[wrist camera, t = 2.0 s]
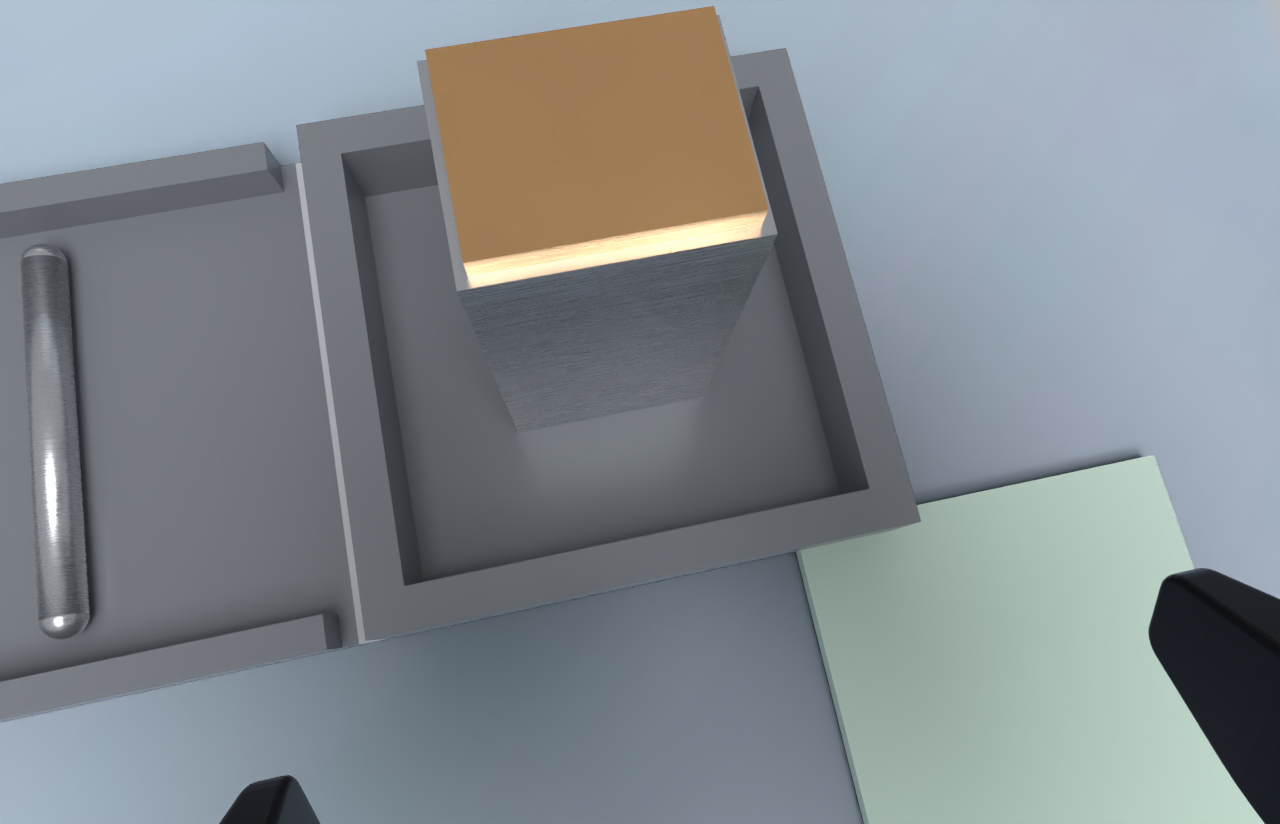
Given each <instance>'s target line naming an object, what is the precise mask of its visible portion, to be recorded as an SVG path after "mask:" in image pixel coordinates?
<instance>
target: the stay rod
mask: <svg viewBox="0 0 1280 824" xmlns="http://www.w3.org/2000/svg"><path fill="white" fill-rule="evenodd" d="M20 269H21V289H22V309H23V329H24V349H25V369H26V389H27V409H28V429H29V449H30V469H31V489H32V509H33V529H34V549H35V569H36V589H37V609H38V623H39V627H40V629H41V631H42V632H43V633H44V634H45V635H46V636H48V637H50V638H53V639H58V640H63V639H69V638H72V637H74V636H76V635H78V634H79V633H81V632H82V631H83V630H84V629H85V627H86V626H87V624H88V622H89V618H90V607H89V591H88V575H87V559H86V544H85V528H84V512H83V497H82V481H81V465H80V449H79V434H78V418H77V402H76V386H75V371H74V355H73V339H72V324H71V308H70V292H69V276H68V263H67V259H66V257H65V255H64V254H63V253H62V252H61V251H60V250H59V249H57V248H56V247H54V246H51V245H47V244H36V245H33V246H30V247H28V248H27V249H26V250H25V251H24V252H23V253H22V256H21V259H20Z"/></svg>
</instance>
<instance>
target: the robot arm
mask: <svg viewBox="0 0 1280 824" xmlns="http://www.w3.org/2000/svg"><path fill="white" fill-rule="evenodd" d="M1148 634H1149V640H1150V644H1151V647H1152V649H1153V651H1154V653H1155V655H1156V657H1157V658H1158V660H1159V662H1160V663H1161V665H1162V667H1163V668H1164V670H1165V671H1166V673H1167V675H1168V676H1169V678H1170V680H1171V681H1172V683H1173V684H1174V686H1175V688H1176V689H1177V691H1178V693H1179V694H1180V696H1181V697H1182V699H1183V701H1184V702H1185V704H1186V706H1187V707H1188V709H1189V710H1190V712H1191V714H1192V715H1193V717H1194V719H1195V720H1196V722H1197V723H1198V725H1199V727H1200V728H1201V730H1202V732H1203V733H1204V735H1205V736H1206V738H1207V740H1208V741H1209V743H1210V745H1211V746H1212V748H1213V749H1214V751H1215V753H1216V754H1217V756H1218V758H1219V759H1220V761H1221V762H1222V764H1223V765H1224V767H1225V768H1226V770H1227V772H1228V773H1229V775H1230V776H1231V778H1232V779H1233V781H1234V782H1235V784H1236V785H1237V787H1238V788H1239V789H1240V791H1241V792H1242V794H1243V795H1244V796H1245V798H1246V799H1247V801H1248V802H1249V803H1250V805H1251V806H1252V808H1253V809H1254V810H1255V812H1256V813H1257V814H1258V816H1259V817H1260V818H1261V820H1262V821H1263V822H1264V824H1280V599H1278V598H1276V597H1274V596H1272V595H1269V594H1267V593H1265V592H1262V591H1260V590H1258V589H1256V588H1253V587H1251V586H1249V585H1246V584H1244V583H1242V582H1239V581H1237V580H1235V579H1233V578H1230V577H1228V576H1226V575H1223V574H1221V573H1219V572H1216V571H1214V570H1211V569H1206V568H1198V569H1192V570H1188V571H1183V572H1179V573H1175V574H1171V575H1169V576H1167V577H1166V578H1165V579H1164V580H1163V581H1162V583H1161V586H1160V589H1159V593H1158V596H1157V600H1156V603H1155V607H1154V610H1153V614H1152V617H1151V621H1150V624H1149V629H1148ZM219 824H320V822H319V820H318V818H317V816H316V814H315V812H314V810H313V809H312V807H311V805H310V803H309V801H308V799H307V797H306V795H305V794H304V792H303V790H302V788H301V786H300V784H299V783H298V781H297V780H296V779H295V778H294V777H292V776H290V775H285V776H280V777H276V778H271V779H267V780H263V781H258V782H255V783H252V784H250V785H249V786H247V787H246V788H245V789H244V790H243V791H242V792H241V793H240V795H239V796H238V798H237V799H236V800H235V802H234V803H233V805H232V806H231V808H230V809H229V811H228V812H227V813H226V815H225V816H224V818H223V819H222V821H221V822H220V823H219Z"/></svg>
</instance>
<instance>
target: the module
mask: <svg viewBox="0 0 1280 824" xmlns="http://www.w3.org/2000/svg"><path fill="white" fill-rule="evenodd" d="M425 52H426V58H427V60H422V61H417V65H418V70H419V76H420V82H421V88H422V93H423V99H424V105H425V111H426V117H427V122H428V128H429V134H430V140H431V145H432V151H433V157H434V163H435V169H436V174H437V180H438V186H439V192H440V197H441V203H442V209H443V215H444V220H445V226H446V232H447V238H448V244H449V249H450V255H451V261H452V267H453V272H454V278H455V284H456V290H457V293H458V295H459V297H460V300H461V302H462V304H463V307H464V309H465V311H466V314H467V316H468V318H469V321H470V323H471V325H472V327H473V330H474V332H475V334H476V337H477V339H478V341H479V344H480V346H481V348H482V350H483V353H484V355H485V357H486V360H487V362H488V364H489V367H490V369H491V371H492V374H493V376H494V378H495V380H496V383H497V385H498V387H499V390H500V392H501V394H502V397H503V399H504V401H505V403H506V406H507V408H508V410H509V413H510V415H511V417H512V420H513V422H514V424H515V427H516V429H517V431H518V433H521V432H527V431H532V430H537V429H542V428H547V427H552V426H557V425H562V424H568V423H573V422H578V421H583V420H588V419H593V418H598V417H603V416H609V415H614V414H619V413H624V412H629V411H634V410H639V409H644V408H649V407H655V406H660V405H665V404H670V403H675V402H680V401H685V400H690V399H696V398H701V397H703V395H704V393H705V391H706V388H707V386H708V384H709V382H710V380H711V378H712V375H713V373H714V371H715V369H716V367H717V365H718V362H719V360H720V358H721V356H722V354H723V351H724V349H725V347H726V345H727V343H728V341H729V338H730V336H731V334H732V332H733V330H734V328H735V325H736V323H737V321H738V319H739V317H740V315H741V312H742V310H743V308H744V306H745V304H746V302H747V299H748V297H749V295H750V293H751V291H752V289H753V286H754V284H755V282H756V280H757V278H758V276H759V273H760V271H761V269H762V267H763V265H764V263H765V260H766V258H767V256H768V254H769V252H770V250H771V247H772V245H773V243H774V241H775V239H776V237H777V234H778V233H777V229H776V225H775V222H774V218H773V214H772V211H771V207H770V203H769V199H768V196H767V192H766V188H765V184H764V181H763V177H762V173H761V170H760V166H759V162H758V158H757V155H756V151H755V147H754V144H753V140H752V136H751V132H750V129H749V125H748V121H747V117H746V114H745V110H744V106H743V103H742V99H741V95H740V91H739V88H738V84H737V80H736V76H735V73H734V69H733V65H732V62H731V58H730V54H729V50H728V47H727V43H726V39H725V35H724V32H723V28H722V24H721V21H720V17H719V15H716V12H715V8H714V6H711V7H705V8H698V9H692V10H685V11H678V12H672V13H665V14H659V15H652V16H645V17H639V18H632V19H626V20H619V21H612V22H606V23H599V24H593V25H586V26H579V27H573V28H566V29H560V30H553V31H546V32H540V33H533V34H527V35H520V36H513V37H507V38H500V39H494V40H487V41H480V42H474V43H467V44H461V45H454V46H447V47H441V48H434V49H428V50H425Z"/></svg>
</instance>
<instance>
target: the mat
mask: <svg viewBox="0 0 1280 824" xmlns="http://www.w3.org/2000/svg"><path fill="white" fill-rule="evenodd" d="M917 508H918V511H919V515H920V518H921V522H918V523H915V524H912V525H909V526H905V527H902V528H899V529H895V530H892V531H887V532H882V533H878V534H873V535H869V536H864V537H859V538H855V539H850V540H845V541H841V542H836V543H831V544H827V545H822V546H817V547H813V548H808V549H803V550H799V551H796V555H797V559H798V563H799V566H800V570H801V574H802V578H803V582H804V586H805V590H806V594H807V598H808V602H809V606H810V610H811V614H812V618H813V622H814V626H815V630H816V634H817V638H818V642H819V646H820V650H821V654H822V658H823V662H824V666H825V670H826V674H827V678H828V682H829V686H830V690H831V694H832V698H833V702H834V706H835V710H836V714H837V718H838V722H839V726H840V730H841V734H842V738H843V742H844V746H845V750H846V754H847V758H848V762H849V766H850V770H851V774H852V778H853V782H854V786H855V790H856V794H857V798H858V802H859V806H860V810H861V814H862V818H863V822H864V824H1264V822H1263V821H1262V820H1261V818H1260V817H1259V816H1258V814H1257V813H1256V812H1255V810H1254V809H1253V808H1252V806H1251V805H1250V803H1249V802H1248V801H1247V799H1246V798H1245V796H1244V795H1243V794H1242V792H1241V791H1240V789H1239V788H1238V787H1237V785H1236V784H1235V782H1234V781H1233V779H1232V778H1231V776H1230V775H1229V773H1228V772H1227V770H1226V768H1225V767H1224V765H1223V764H1222V762H1221V761H1220V759H1219V758H1218V756H1217V754H1216V753H1215V751H1214V749H1213V748H1212V746H1211V745H1210V743H1209V741H1208V740H1207V738H1206V736H1205V735H1204V733H1203V732H1202V730H1201V728H1200V727H1199V725H1198V723H1197V722H1196V720H1195V719H1194V717H1193V715H1192V714H1191V712H1190V710H1189V709H1188V707H1187V706H1186V704H1185V702H1184V701H1183V699H1182V697H1181V696H1180V694H1179V693H1178V691H1177V689H1176V688H1175V686H1174V684H1173V683H1172V681H1171V680H1170V678H1169V676H1168V675H1167V673H1166V671H1165V670H1164V668H1163V667H1162V665H1161V663H1160V662H1159V660H1158V658H1157V657H1156V655H1155V653H1154V651H1153V649H1152V647H1151V644H1150V640H1149V634H1148V629H1149V624H1150V621H1151V617H1152V614H1153V610H1154V607H1155V603H1156V600H1157V596H1158V593H1159V589H1160V586H1161V583H1162V581H1163V580H1164V579H1165V578H1166V577H1167V576H1169V575H1171V574H1175V573H1179V572H1183V571H1188V570H1192V569H1194V566H1193V563H1192V561H1191V558H1190V555H1189V552H1188V549H1187V546H1186V544H1185V541H1184V538H1183V535H1182V532H1181V529H1180V527H1179V524H1178V521H1177V518H1176V515H1175V513H1174V510H1173V507H1172V504H1171V501H1170V498H1169V496H1168V493H1167V490H1166V487H1165V484H1164V481H1163V479H1162V476H1161V473H1160V470H1159V467H1158V465H1157V462H1156V459H1155V456H1154V455H1150V456H1146V457H1141V458H1136V459H1132V460H1127V461H1122V462H1118V463H1113V464H1108V465H1103V466H1099V467H1094V468H1089V469H1085V470H1080V471H1075V472H1070V473H1066V474H1061V475H1056V476H1052V477H1047V478H1042V479H1037V480H1033V481H1028V482H1023V483H1019V484H1014V485H1009V486H1005V487H1000V488H995V489H990V490H986V491H981V492H976V493H972V494H967V495H962V496H957V497H953V498H948V499H943V500H939V501H934V502H929V503H924V504H920V505H917Z"/></svg>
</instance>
